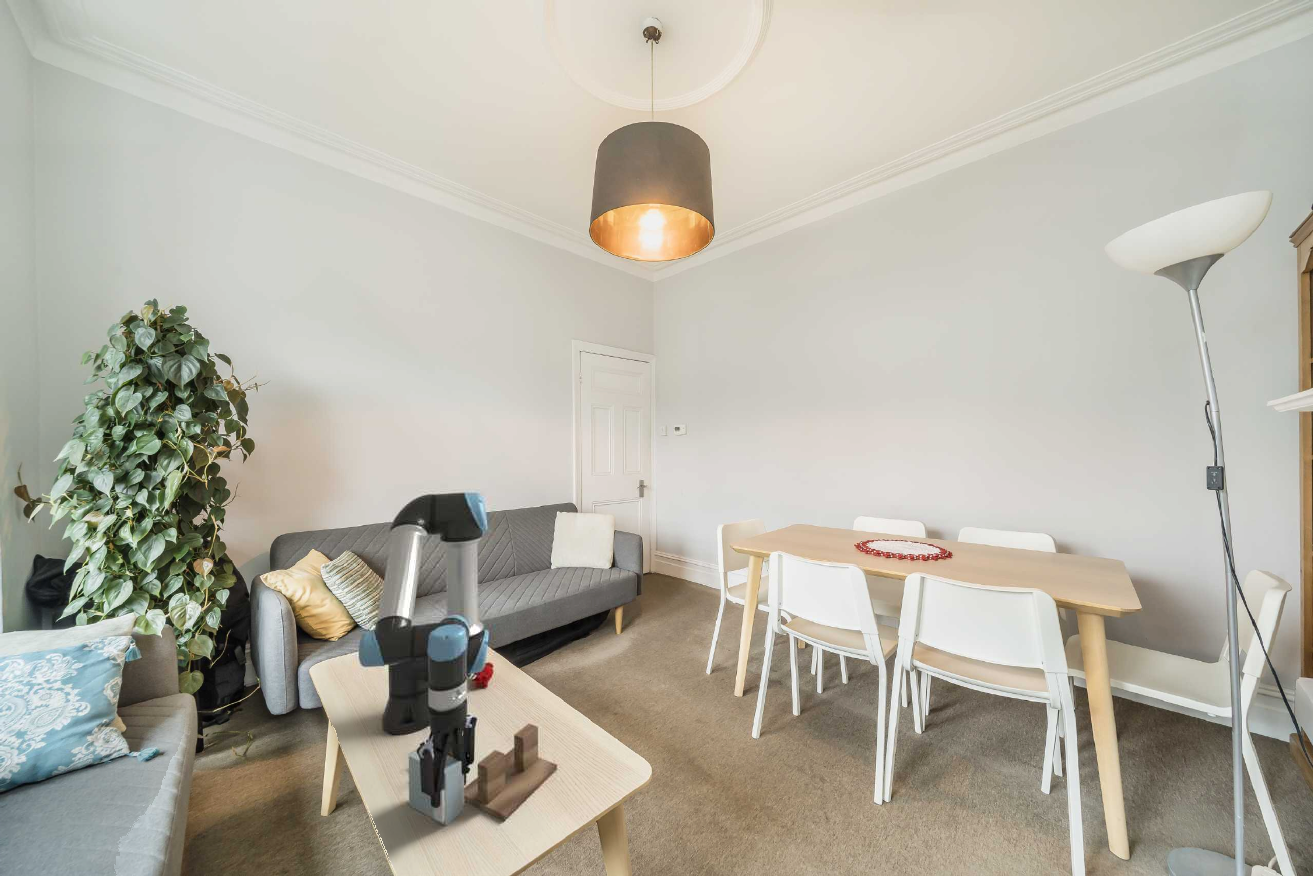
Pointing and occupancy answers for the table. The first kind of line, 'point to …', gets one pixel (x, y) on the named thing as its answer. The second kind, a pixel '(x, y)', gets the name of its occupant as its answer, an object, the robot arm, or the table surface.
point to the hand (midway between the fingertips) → (449, 810)
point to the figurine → (483, 675)
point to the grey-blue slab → (450, 784)
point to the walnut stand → (509, 776)
